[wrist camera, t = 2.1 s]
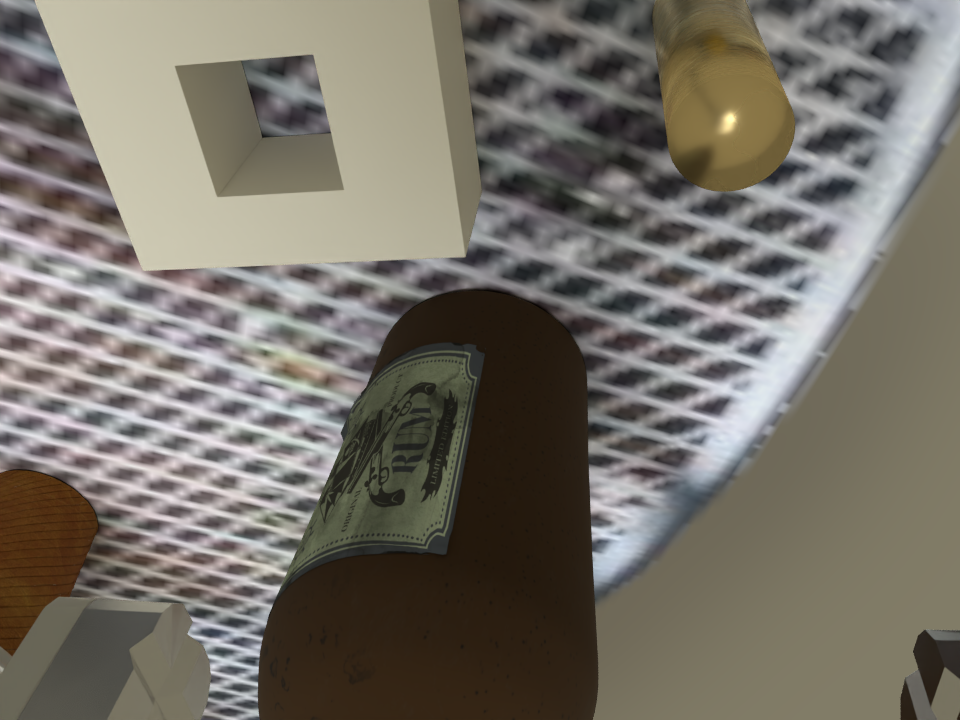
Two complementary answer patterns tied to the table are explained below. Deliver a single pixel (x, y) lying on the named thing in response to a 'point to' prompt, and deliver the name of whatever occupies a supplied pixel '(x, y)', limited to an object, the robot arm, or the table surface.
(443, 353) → the brown glass bottle
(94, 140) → the hole block
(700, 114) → the brass pin
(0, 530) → the disposable coffee cup
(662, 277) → the table surface
